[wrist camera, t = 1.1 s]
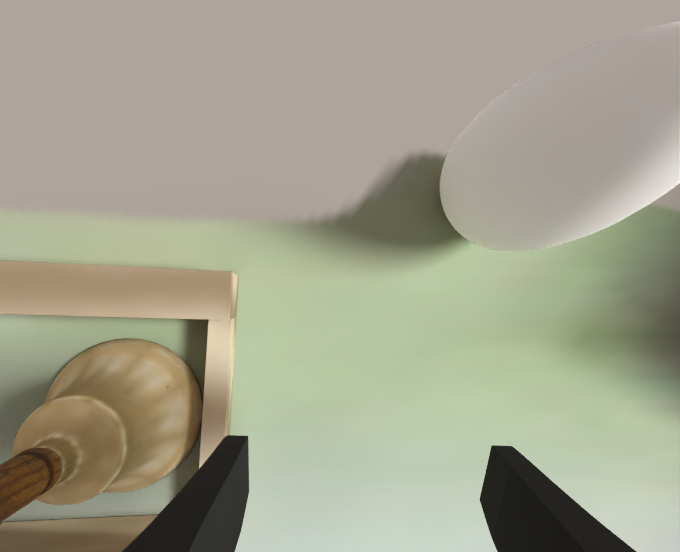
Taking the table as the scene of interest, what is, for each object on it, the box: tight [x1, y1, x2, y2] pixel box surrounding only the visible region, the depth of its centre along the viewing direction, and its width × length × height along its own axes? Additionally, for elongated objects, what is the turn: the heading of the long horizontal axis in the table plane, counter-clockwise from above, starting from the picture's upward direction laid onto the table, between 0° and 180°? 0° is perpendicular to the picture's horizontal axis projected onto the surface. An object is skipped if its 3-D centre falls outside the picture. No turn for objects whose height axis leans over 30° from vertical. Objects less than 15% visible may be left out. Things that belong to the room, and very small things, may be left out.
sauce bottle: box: [440, 21, 680, 251], centre depth 15 cm, size 8×8×18 cm
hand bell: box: [0, 339, 202, 523], centre depth 12 cm, size 8×8×16 cm
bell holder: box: [0, 261, 239, 552], centre depth 19 cm, size 16×11×3 cm
